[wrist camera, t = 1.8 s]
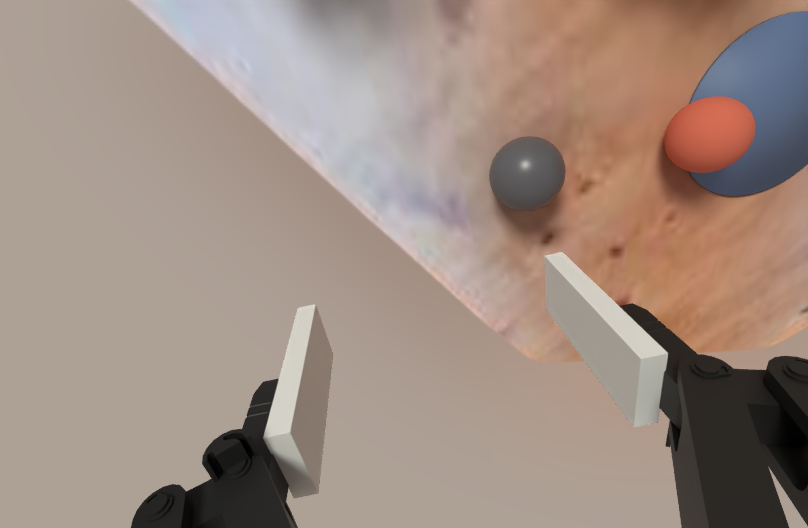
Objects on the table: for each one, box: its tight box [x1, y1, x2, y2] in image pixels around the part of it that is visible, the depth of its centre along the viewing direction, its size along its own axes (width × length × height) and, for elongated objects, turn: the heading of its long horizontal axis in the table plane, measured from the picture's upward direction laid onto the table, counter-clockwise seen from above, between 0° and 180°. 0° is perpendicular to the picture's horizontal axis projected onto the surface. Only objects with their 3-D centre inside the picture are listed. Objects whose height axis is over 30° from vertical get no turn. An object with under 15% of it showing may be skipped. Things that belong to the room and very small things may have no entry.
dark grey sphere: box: [489, 137, 565, 211], centre depth 31 cm, size 6×6×6 cm
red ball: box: [664, 96, 755, 173], centre depth 30 cm, size 6×6×6 cm
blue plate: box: [689, 12, 808, 196], centre depth 33 cm, size 14×14×1 cm
